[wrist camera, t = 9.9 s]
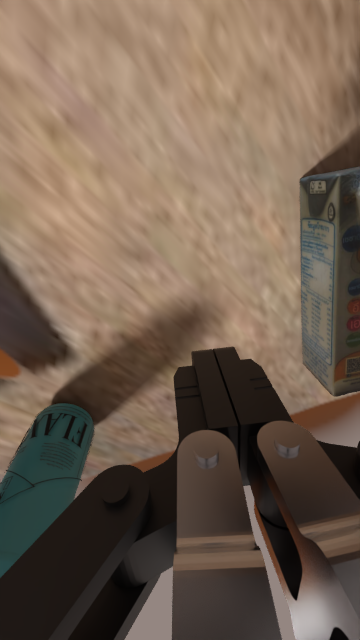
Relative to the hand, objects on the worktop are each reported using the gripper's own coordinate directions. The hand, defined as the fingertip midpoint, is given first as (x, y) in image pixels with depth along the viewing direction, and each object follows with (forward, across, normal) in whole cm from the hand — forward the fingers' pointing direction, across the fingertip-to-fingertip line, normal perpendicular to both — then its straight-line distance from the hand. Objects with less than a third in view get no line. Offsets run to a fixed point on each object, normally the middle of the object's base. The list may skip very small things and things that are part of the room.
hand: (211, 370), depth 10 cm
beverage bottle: (+17, +14, +17) cm, 28 cm away
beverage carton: (+18, -15, +3) cm, 23 cm away
